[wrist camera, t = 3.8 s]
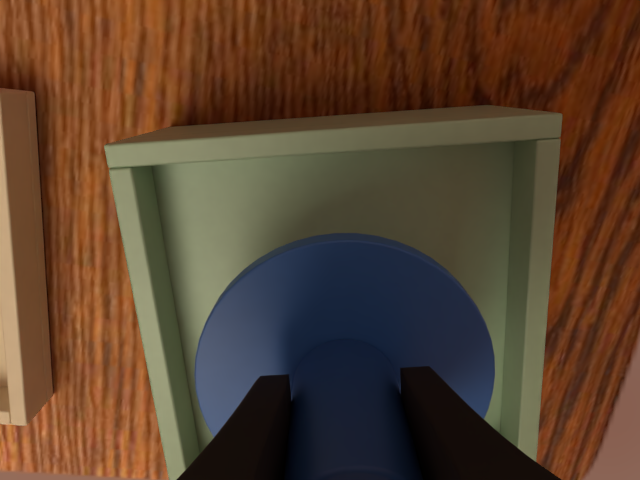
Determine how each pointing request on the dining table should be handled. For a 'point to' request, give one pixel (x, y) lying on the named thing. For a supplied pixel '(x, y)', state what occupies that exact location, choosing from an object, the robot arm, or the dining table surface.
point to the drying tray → (22, 266)
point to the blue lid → (343, 349)
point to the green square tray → (341, 229)
